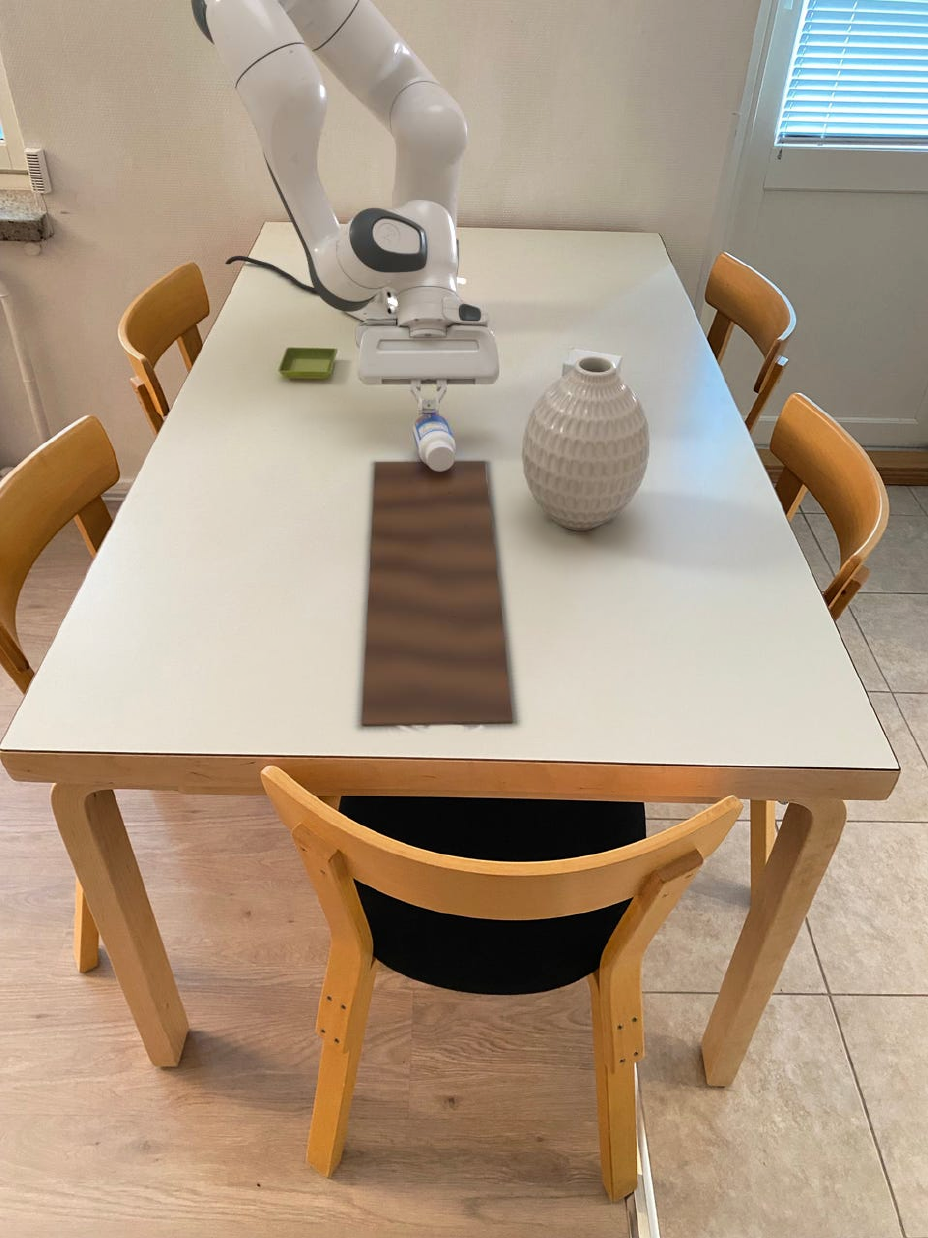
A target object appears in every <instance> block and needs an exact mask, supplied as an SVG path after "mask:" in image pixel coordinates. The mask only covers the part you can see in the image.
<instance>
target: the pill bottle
mask: <svg viewBox="0 0 928 1238" xmlns="http://www.w3.org/2000/svg"><path fill="white" fill-rule="evenodd" d="M412 435H413V439H414V442H415V445H416V449H417V452H418V456H419V457H420V459H421V462H424V463H425V464H427V465H428V466H429V467H430V468H431V469H432V470H434V471H439V472H441V471H445V470H447V469H449V468H450V467H451V466H452V465H453V463H454V461H455V459H456V458H455V457H456V452H457V446H456V441H455V439H454V436H453V434H452V431H451V429H450V426H449V423H448V421H447V419H446V418H445V417H444V416H443V415H441V414H440V413H439V414H421V415H420V416H418V418H417V419H416V420H415V422H414V423H413V426H412Z"/></svg>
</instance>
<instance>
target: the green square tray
mask: <svg viewBox="0 0 928 1238" xmlns="http://www.w3.org/2000/svg"><path fill="white" fill-rule="evenodd" d="M337 352H338V348H334V347H333V348H330V347H293V346H291V347H286V349H285V351H284V352H283V355H282V359H281V361H280V364H279V367H278V370H277V372H278V373H279V374H281V375H282V376H283V377H284V378H286V379H290V380H326V379H327V378H328V377H330V375H331V373H332V371H333V367H334V363H335V360H336V356H337Z"/></svg>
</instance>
